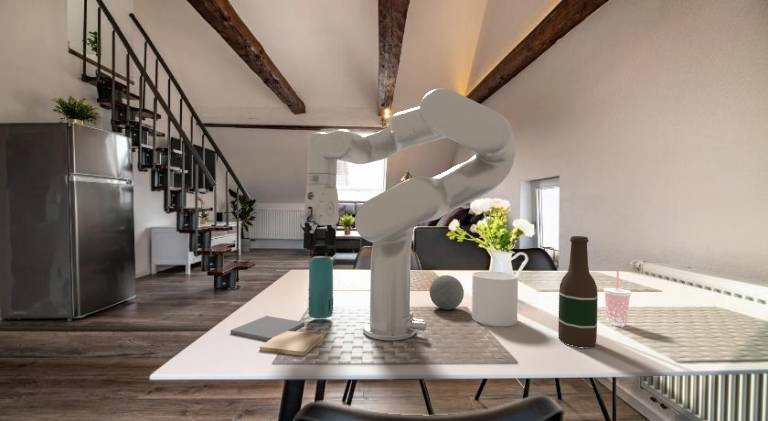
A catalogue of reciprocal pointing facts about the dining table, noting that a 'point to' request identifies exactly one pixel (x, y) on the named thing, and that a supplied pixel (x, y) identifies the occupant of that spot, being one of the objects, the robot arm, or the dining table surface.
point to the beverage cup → (617, 303)
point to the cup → (494, 298)
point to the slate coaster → (267, 328)
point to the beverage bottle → (320, 284)
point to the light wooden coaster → (292, 343)
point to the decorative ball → (446, 292)
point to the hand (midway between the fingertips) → (320, 247)
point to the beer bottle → (578, 299)
